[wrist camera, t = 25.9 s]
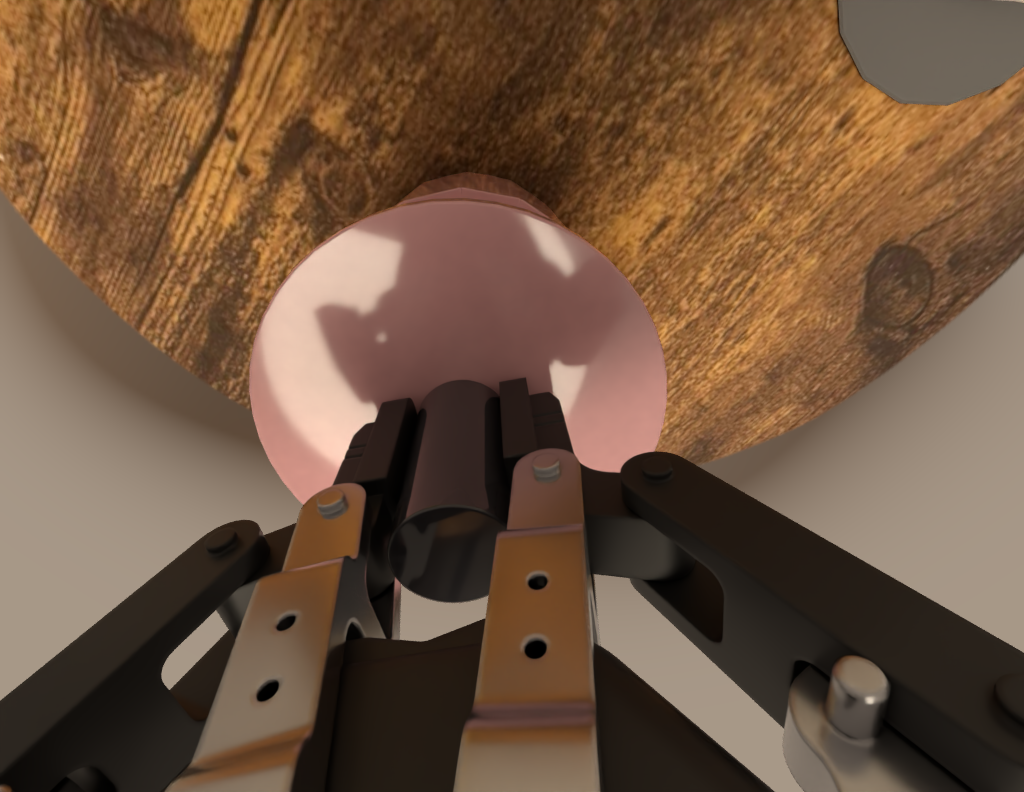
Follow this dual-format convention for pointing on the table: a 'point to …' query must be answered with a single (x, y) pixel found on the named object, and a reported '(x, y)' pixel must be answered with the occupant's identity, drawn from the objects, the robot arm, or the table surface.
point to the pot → (479, 192)
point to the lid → (452, 367)
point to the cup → (934, 46)
